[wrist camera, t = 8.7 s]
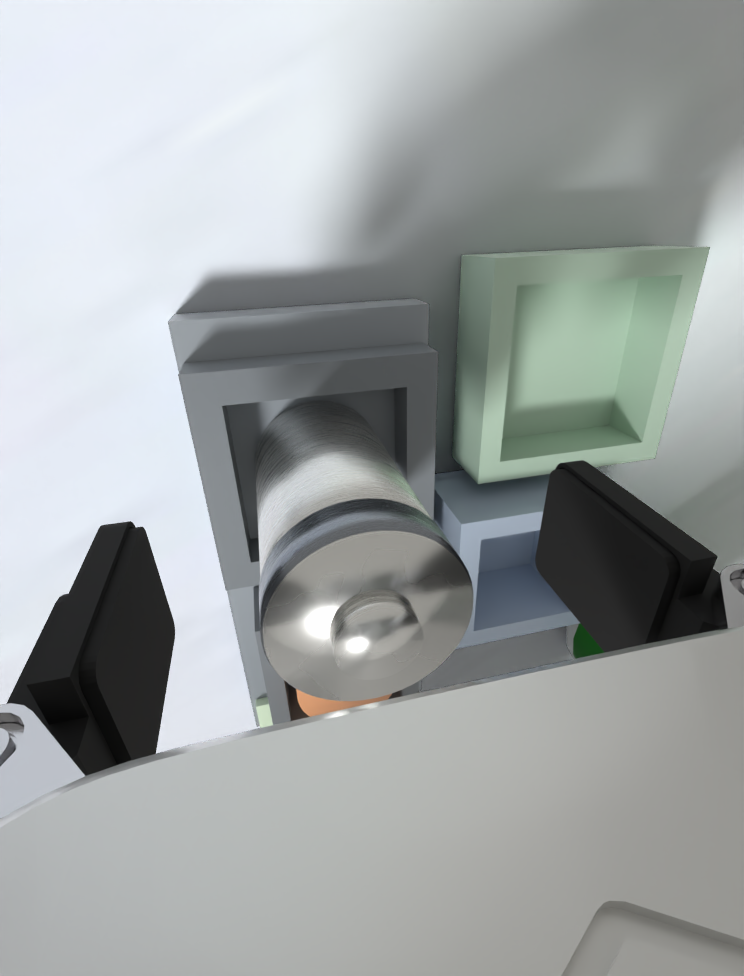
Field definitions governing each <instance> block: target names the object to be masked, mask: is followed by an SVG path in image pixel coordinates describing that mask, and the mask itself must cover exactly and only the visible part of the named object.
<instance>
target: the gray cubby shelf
mask: <svg viewBox="0 0 744 976" xmlns="http://www.w3.org/2000/svg"><path fill="white" fill-rule="evenodd" d="M168 325H169V329H170V334H171V338H172V343H173V347H174V352H175V357H176V361H177V366H178V370H179V374H178V376H179V381H180V385H181V390H182V394H183V399H184V403H185V408H186V412H187V417H188V421H189V426H190V430H191V435H192V439H193V444H194V448H195V453H196V457H197V462H198V467H199V471H200V476H201V480H202V485H203V489H204V494H205V498H206V503H207V507H208V512H209V516H210V521H211V525H212V530H213V534H214V539H215V544H216V548H217V553H218V557H219V562H220V566H221V571H222V575H223V580H224V584H225V589H226V590H227V593H228V598H229V602H230V607H231V612H232V616H233V621H234V625H235V630H236V634H237V639H238V643H239V648H240V653H241V657H242V662H243V666H244V671H245V675H246V680H247V684H248V689H249V693H250V698H251V703H252V707H253V712H254V716H255V721H256V725H257V727H258V726H260V728H263V727H267V726H271V725H276V724H280V723H285V722H289V721H294V720H298V719H303V718H307V717H310V716H308V715H307V714H306V713H305V712H304V711H303V710H302V709H301V707H300V705H299V703H298V699H297V691H296V688H294V687H293V686H291V685H290V684H288V683H287V682H286V681H285V680H284V679H282V678H281V677H280V676H279V675H278V673H277V672H276V671H275V670H274V669H273V667H272V666H271V665H270V663H269V661H268V659H267V657H266V655H265V653H264V650H263V647H262V643H261V634H260V613H259V581H260V559H259V537H258V515H257V493H256V471H255V454H256V449H257V445H258V442H259V439H260V437H261V435H262V433H263V431H264V430H265V429H266V427H267V426H268V424H269V423H270V422H271V421H272V420H273V419H274V418H275V417H277V416H278V415H279V414H280V413H282V412H283V411H285V410H287V409H288V408H290V407H293V406H295V405H297V404H301V403H304V402H309V401H331V402H336V403H340V404H342V405H345V406H347V407H349V408H351V409H353V410H355V411H356V412H357V413H359V414H360V415H361V416H362V417H363V418H364V419H365V420H366V421H367V422H368V423H369V425H370V426H371V428H372V429H373V431H374V432H375V434H376V435H377V437H378V438H379V440H380V441H381V443H382V444H383V446H384V447H385V449H386V450H387V452H388V453H389V455H390V456H391V458H392V459H393V461H394V462H395V464H396V466H397V467H398V469H399V470H400V472H401V473H402V475H403V476H404V478H405V479H406V481H407V482H408V484H409V485H410V487H411V488H412V490H413V491H414V493H415V494H416V496H417V497H418V499H419V500H420V502H421V503H422V505H423V507H424V508H425V510H426V511H427V513H428V514H429V516H430V517H431V519H432V520H433V517H434V483H435V450H436V416H437V382H438V351H436V350H434V349H433V348H431V347H429V346H428V340H429V304H428V303H425V302H423V301H420V300H417V299H415V298H411V299H396V300H381V301H366V302H351V303H336V304H320V305H305V306H290V307H275V308H260V309H245V310H230V311H214V312H199V313H184V314H174V315H173V316H172V318H171V319H170V320H169V321H168ZM421 688H422V679H421V680H420V681H418V682H416V683H414V684H413V685H411V686H409V687H406V688H404V689H402V690H400V691H397V692H394V693H392V695H391V696H390V697H389V699H392V698H397V697H401V696H406V695H410V694H415V693H419V690H421Z"/></svg>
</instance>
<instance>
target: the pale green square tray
mask: <svg viewBox="0 0 744 976" xmlns="http://www.w3.org/2000/svg"><path fill="white" fill-rule="evenodd" d="M709 249H710V247H691V246H633V247H613V248H592V249H572V250H552V251H532V252H512V253H491V254H471V255H462V256H461V278H460V299H459V320H458V341H457V362H456V384H455V405H454V426H453V447H452V457H453V458H454V459H455V460H456V461H457V462H458V463H459V465H460V466H461V467H462V468H463V469H464V470H465V471H466V472H467V473H468V474H469V475H470V476H471V477H472V478H473V479H474V480H475V481H476V482H477V484H483V483H490V482H496V481H503V480H510V479H517V478H524V477H531V476H538V475H545V474H550V473H551V472H552V471H553V470H555V469H556V467H557V465H558V464H560V463H565V462H572V461H579V460H584V461H586V462H588V463H589V464H590V465H592V466H593V467H600V466H607V465H614V464H621V463H628V462H635V461H642V460H649V459H655V457H656V453H657V449H658V445H659V441H660V437H661V434H662V430H663V426H664V422H665V418H666V414H667V411H668V407H669V403H670V399H671V395H672V391H673V388H674V384H675V380H676V376H677V372H678V368H679V364H680V361H681V357H682V353H683V349H684V345H685V341H686V338H687V334H688V330H689V326H690V322H691V318H692V315H693V311H694V307H695V303H696V299H697V295H698V292H699V288H700V284H701V280H702V276H703V272H704V269H705V265H706V261H707V257H708V253H709Z"/></svg>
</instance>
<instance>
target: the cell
mask: <svg viewBox="0 0 744 976" xmlns="http://www.w3.org/2000/svg"><path fill="white" fill-rule="evenodd" d="M255 471H256V493H257V515H258V537H259V559H260V581H259V613H260V634H261V643H262V647H263V650H264V653H265V655H266V657H267V659H268V661H269V663H270V665H271V666H272V667H273V669H274V670H275V671H276V672H277V673H278V675H279V676H280V677H281V678H282V679H284V680H285V681H286V682H287V683H288V684H290V685H291V686H293V687H294V688H296V689H298V690H300V691H302V692H304V693H306V694H309V695H311V696H314V697H318V698H322V699H327V700H335V701H359V700H367V699H373V698H378V697H382V696H385V695H389V694H392V693H394V692H397V691H400V690H402V689H404V688H406V687H409V686H411V685H413V684H414V683H416V682H418V681H420V680H421V679H423V678H424V677H426V676H427V675H429V674H430V673H432V672H433V671H434V670H435V669H437V668H438V667H439V666H440V665H441V664H442V663H443V662H444V661H445V660H446V659H447V658H448V657H449V656H450V655H451V654H452V653H453V651H454V650H455V649H456V647H457V646H458V645H459V643H460V641H461V640H462V638H463V636H464V634H465V632H466V630H467V628H468V625H469V622H470V619H471V616H472V609H473V586H472V581H471V578H470V575H469V572H468V570H467V568H466V566H465V565H464V563H463V561H462V560H461V558H460V557H459V555H458V554H457V552H456V551H455V549H454V548H453V546H452V545H451V543H450V542H449V540H448V539H447V537H446V536H445V534H444V533H443V531H442V530H441V529H440V528H439V526H438V525H437V524H436V523H435V522H434V521H433V520H432V519H431V517H430V516H429V514H428V513H427V511H426V510H425V508H424V507H423V505H422V503H421V502H420V500H419V499H418V497H417V496H416V494H415V493H414V491H413V490H412V488H411V487H410V485H409V484H408V482H407V481H406V479H405V478H404V476H403V475H402V473H401V472H400V470H399V469H398V467H397V466H396V464H395V462H394V461H393V459H392V458H391V456H390V455H389V453H388V452H387V450H386V449H385V447H384V446H383V444H382V443H381V441H380V440H379V438H378V437H377V435H376V434H375V432H374V431H373V429H372V428H371V426H370V425H369V423H368V422H367V421H366V420H365V419H364V418H363V417H362V416H361V415H360V414H359V413H357V412H356V411H355V410H353V409H351V408H349V407H347V406H345V405H342V404H340V403H336V402H331V401H309V402H304V403H301V404H297V405H295V406H293V407H290V408H288V409H287V410H285V411H283V412H282V413H280V414H279V415H278V416H277V417H275V418H274V419H273V420H272V421H271V422H270V423H269V424H268V426H267V427H266V429H265V430H264V431H263V433H262V435H261V437H260V439H259V442H258V445H257V449H256V454H255Z"/></svg>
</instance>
